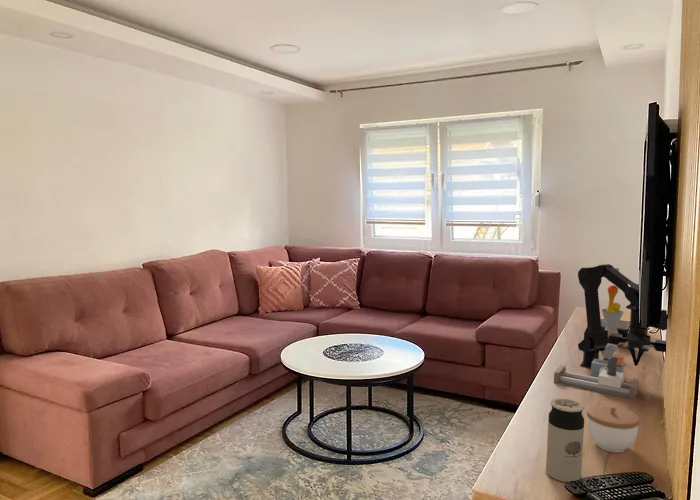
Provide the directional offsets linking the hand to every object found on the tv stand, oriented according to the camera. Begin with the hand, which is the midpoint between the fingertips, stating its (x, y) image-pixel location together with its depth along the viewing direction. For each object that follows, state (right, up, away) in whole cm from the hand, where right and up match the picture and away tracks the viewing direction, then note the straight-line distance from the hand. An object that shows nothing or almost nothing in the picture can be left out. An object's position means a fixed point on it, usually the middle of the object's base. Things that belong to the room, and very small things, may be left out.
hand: (636, 365), depth 189 cm
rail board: (-16, -7, -2) cm, 17 cm away
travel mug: (-51, -13, -61) cm, 81 cm away
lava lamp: (+18, -1, +54) cm, 57 cm away
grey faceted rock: (+5, -4, +30) cm, 31 cm away
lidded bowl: (-32, -12, -46) cm, 58 cm away
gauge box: (-8, -6, +6) cm, 12 cm away
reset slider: (-5, 0, +3) cm, 6 cm away
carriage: (-12, -5, -5) cm, 13 cm away
